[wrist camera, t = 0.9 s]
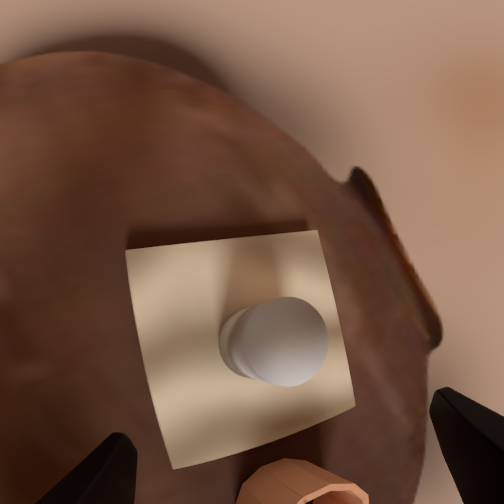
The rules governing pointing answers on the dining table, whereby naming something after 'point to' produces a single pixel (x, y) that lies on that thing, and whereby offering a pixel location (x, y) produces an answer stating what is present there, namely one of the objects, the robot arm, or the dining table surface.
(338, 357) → the duct mount
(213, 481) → the dining table surface
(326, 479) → the collar sleeve
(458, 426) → the robot arm
